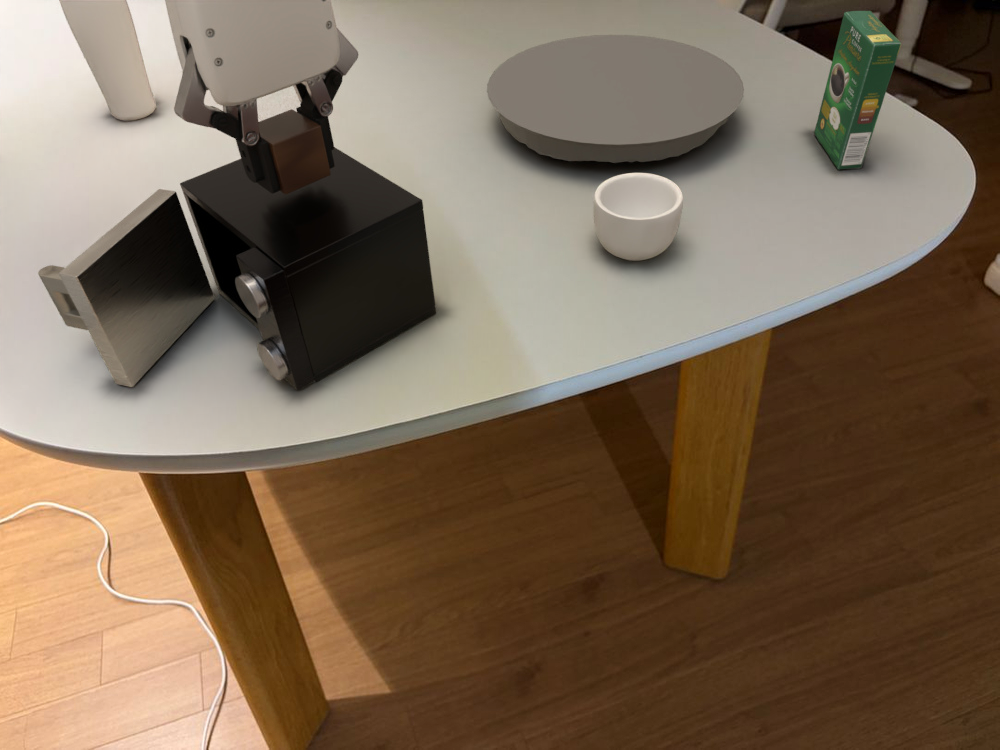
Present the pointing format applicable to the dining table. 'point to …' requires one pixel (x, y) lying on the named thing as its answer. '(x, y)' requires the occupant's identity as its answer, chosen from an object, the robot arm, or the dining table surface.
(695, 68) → the flat disc
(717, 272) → the dining table surface
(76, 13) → the white tapered cylinder
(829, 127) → the coffee box
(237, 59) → the robot arm
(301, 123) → the block
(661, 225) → the teacup
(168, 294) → the microwave door
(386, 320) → the microwave
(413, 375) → the dining table surface
